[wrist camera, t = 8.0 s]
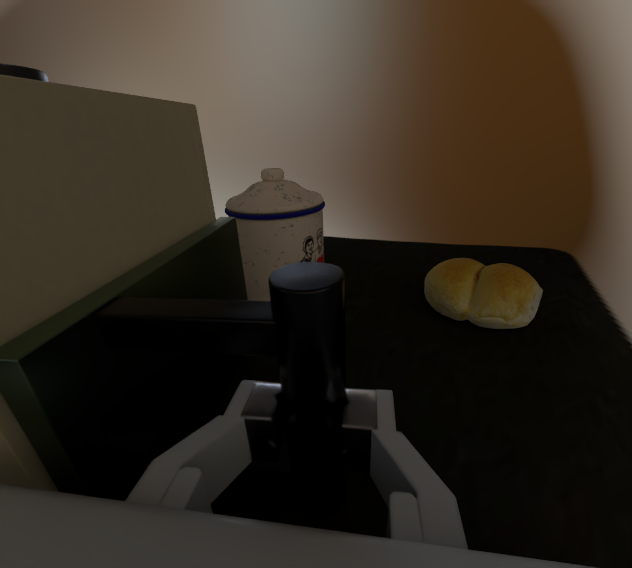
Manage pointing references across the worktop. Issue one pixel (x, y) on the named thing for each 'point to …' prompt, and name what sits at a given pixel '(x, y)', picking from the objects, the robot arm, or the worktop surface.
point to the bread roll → (483, 293)
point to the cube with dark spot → (84, 207)
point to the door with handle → (184, 370)
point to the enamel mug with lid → (276, 228)
